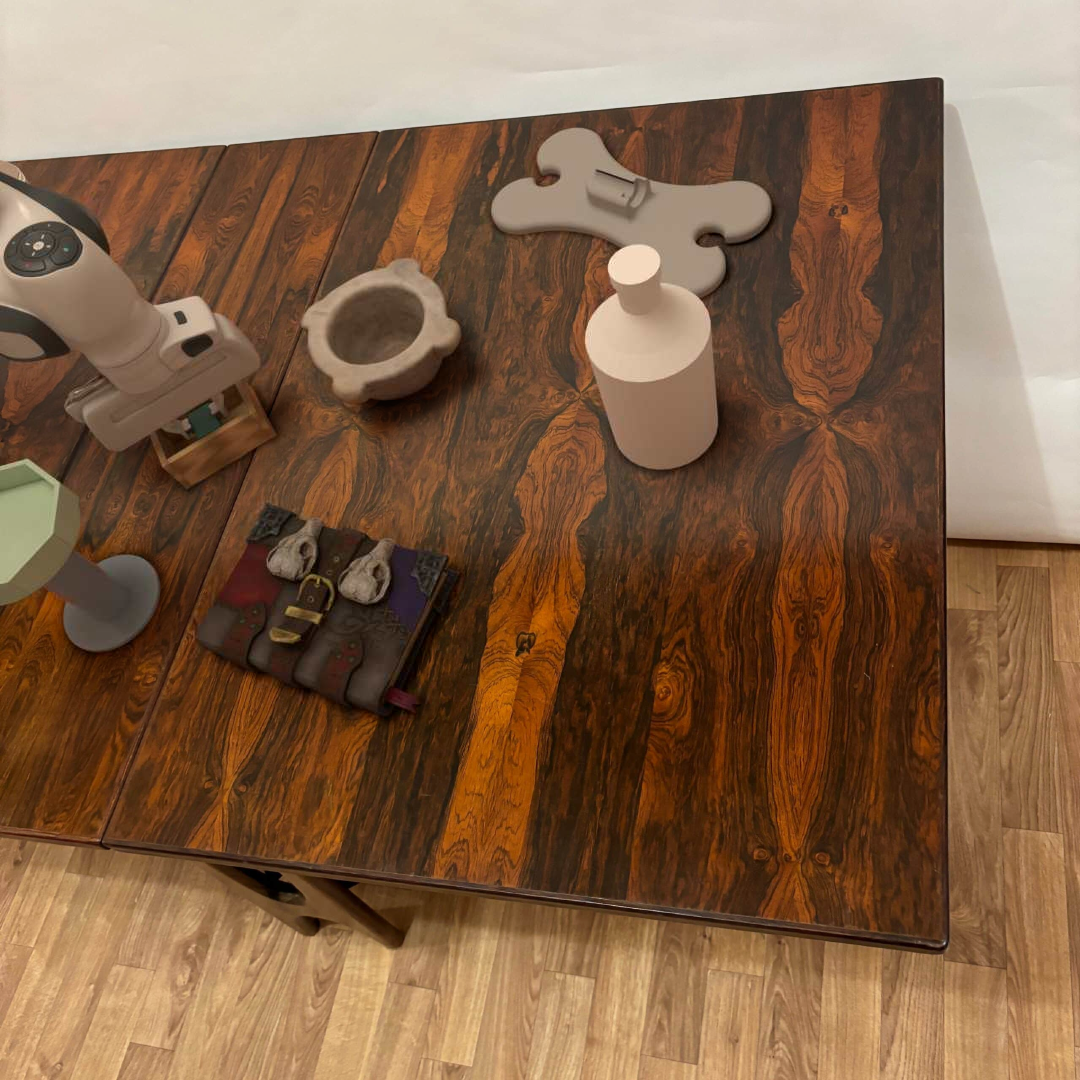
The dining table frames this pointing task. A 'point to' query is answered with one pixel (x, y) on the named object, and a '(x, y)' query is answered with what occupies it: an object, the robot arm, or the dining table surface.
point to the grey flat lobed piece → (632, 209)
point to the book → (328, 609)
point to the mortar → (381, 333)
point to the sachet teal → (204, 421)
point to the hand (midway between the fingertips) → (207, 424)
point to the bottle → (653, 363)
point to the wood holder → (215, 438)
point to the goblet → (68, 562)
